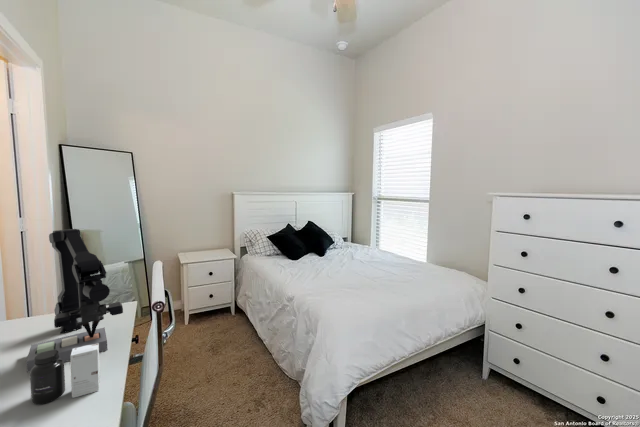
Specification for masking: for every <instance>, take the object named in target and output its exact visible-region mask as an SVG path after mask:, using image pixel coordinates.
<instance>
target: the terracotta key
mask: <svg viewBox="0 0 640 427" xmlns="http://www.w3.org/2000/svg"><path fill="white" fill-rule="evenodd" d="M97 338H99V333H97V334H94V336H93V337H92V338H90V336H85V342H86V341H90V340H93V339H97Z"/></svg>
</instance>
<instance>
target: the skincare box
mask: <svg viewBox="0 0 640 427" xmlns="http://www.w3.org/2000/svg"><path fill="white" fill-rule="evenodd" d="M100 371H101V370H100V352H99V344H98V343H97V344H92V345H86V346H82V347H78V348H73V349H72V352H71V356H70V382H71V383H70V386H71V387H70V388H71V398H72V399H73V398H77V397H81V396H84V395H85V396H86V395H89V394H91V393H95V392H98V391H99V390H100V383H101V379H100V378H101V375H100V374H101V372H100Z"/></svg>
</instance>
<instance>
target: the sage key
mask: <svg viewBox="0 0 640 427" xmlns="http://www.w3.org/2000/svg"><path fill="white" fill-rule="evenodd" d="M54 349H55V345H54V341H53V342H49V343H44V344H40V345H38V347H37V354H38V353H42V352H45V351H49V350H54Z"/></svg>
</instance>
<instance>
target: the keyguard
mask: <svg viewBox="0 0 640 427" xmlns="http://www.w3.org/2000/svg"><path fill="white" fill-rule="evenodd" d="M91 332H92V330H91ZM97 333H99V338H97V339H93V340H90V341H86V342H85V336H89V334H88V332H87V331H84V332H80V333H75V334H72V335H71V334H70V335H65V336H63V337H58V338H53V339H49V340H45V341H42V342H37V343H33V344H31V345H30V347H29V352H28V355H27V358H26V361H25V362H26V372H27V373H30V371H31V369H32V368H33V367H34V366H35V365H34V362H35V360H34V358H35V356H37V355H38V354H40V353H38V354H37V347H38V345H40V344H44V343H49V342H53V341H54V345H55V349H54V350H57V351H58V352H59V359H61V360H62V361H63V362H64V363H65V362H68V361H70V356H71V352H72V349H73V348H78V347H82V346H86V345H92V344H97V343H98V344H99V353H101V352H105V351H108V349H109V348H108V339H107V333H106V328H105V327H100V328H96V330H95V333H94V334H97ZM74 336H77V341H78V344H74V345H70V346H66V347H62V339H65V338H69V337H74ZM70 362H71V361H70Z"/></svg>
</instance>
